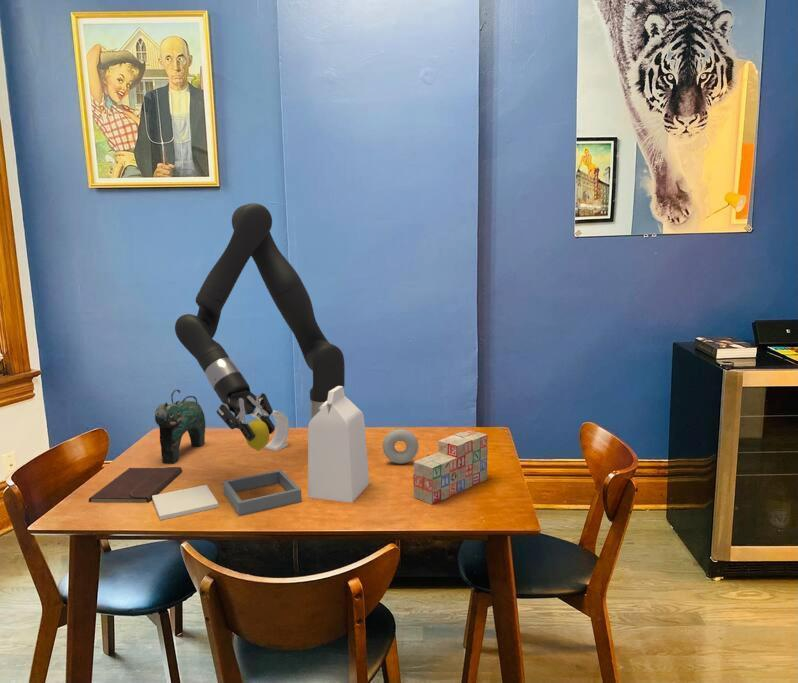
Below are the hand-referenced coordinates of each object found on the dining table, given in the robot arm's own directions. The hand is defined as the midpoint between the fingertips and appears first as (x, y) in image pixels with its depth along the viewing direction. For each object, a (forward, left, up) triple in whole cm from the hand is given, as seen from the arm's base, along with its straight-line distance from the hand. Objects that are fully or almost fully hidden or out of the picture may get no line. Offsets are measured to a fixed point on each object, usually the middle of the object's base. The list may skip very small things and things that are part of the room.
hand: (262, 435), depth 146 cm
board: (+18, -7, -16) cm, 25 cm away
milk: (-17, +5, -16) cm, 24 cm away
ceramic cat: (+12, -44, -16) cm, 49 cm away
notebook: (+26, -25, -17) cm, 40 cm away
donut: (-39, -3, -16) cm, 43 cm away
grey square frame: (+1, -1, -16) cm, 16 cm away
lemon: (+1, -2, -4) cm, 5 cm away
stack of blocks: (-42, +18, -16) cm, 49 cm away
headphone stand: (-14, -35, -16) cm, 42 cm away
